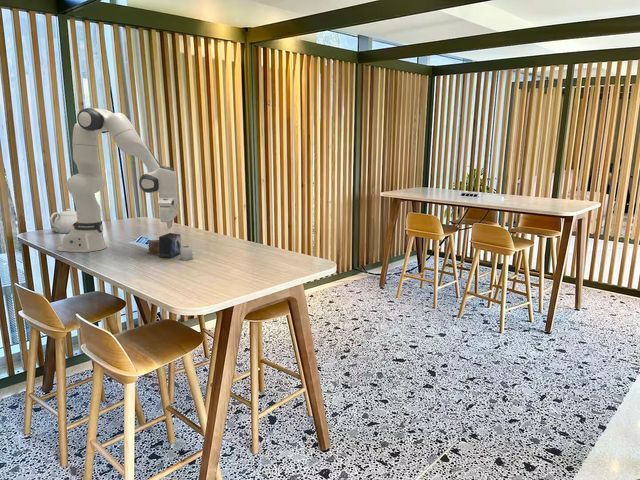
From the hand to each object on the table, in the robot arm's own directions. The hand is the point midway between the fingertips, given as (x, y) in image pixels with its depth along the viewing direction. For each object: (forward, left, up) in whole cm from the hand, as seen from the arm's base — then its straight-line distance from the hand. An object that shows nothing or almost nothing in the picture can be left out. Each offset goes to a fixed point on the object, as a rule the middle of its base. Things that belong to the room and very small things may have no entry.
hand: (169, 228), depth 226 cm
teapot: (-72, +56, -14) cm, 93 cm away
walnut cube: (-9, +6, -14) cm, 18 cm away
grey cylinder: (+9, -6, -14) cm, 18 cm away
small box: (0, 0, -14) cm, 14 cm away
